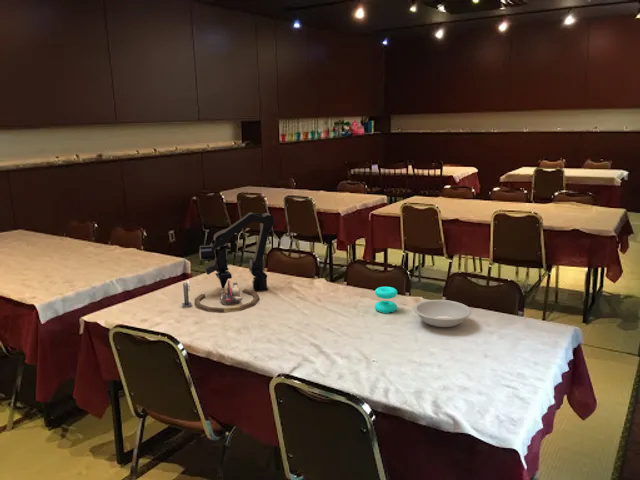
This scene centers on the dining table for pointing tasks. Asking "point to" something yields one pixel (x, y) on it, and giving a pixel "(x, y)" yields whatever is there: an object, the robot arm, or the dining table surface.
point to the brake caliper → (231, 295)
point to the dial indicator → (186, 295)
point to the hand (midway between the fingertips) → (223, 288)
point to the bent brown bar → (228, 309)
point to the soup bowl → (442, 312)
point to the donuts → (386, 294)
